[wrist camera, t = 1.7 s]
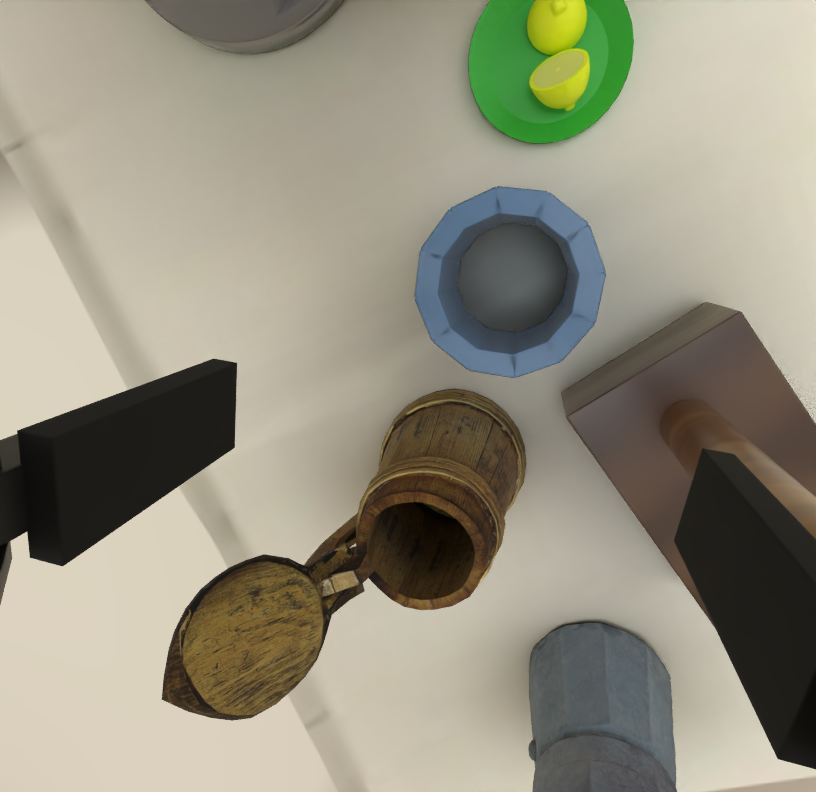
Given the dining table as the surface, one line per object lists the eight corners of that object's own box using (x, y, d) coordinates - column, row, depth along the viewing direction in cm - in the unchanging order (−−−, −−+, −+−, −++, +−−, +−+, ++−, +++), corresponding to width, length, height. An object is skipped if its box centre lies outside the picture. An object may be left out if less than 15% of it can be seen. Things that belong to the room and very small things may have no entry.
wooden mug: (304, 433, 36) (102, 594, 19) (499, 371, 32) (462, 504, 15) (353, 550, 38) (206, 796, 21) (544, 504, 34) (558, 761, 17)
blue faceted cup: (450, 194, 30) (428, 179, 24) (601, 211, 29) (622, 198, 22) (431, 338, 33) (406, 360, 26) (570, 360, 31) (581, 389, 25)
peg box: (560, 392, 32) (595, 560, 14) (706, 301, 29) (968, 374, 12) (691, 577, 33) (868, 937, 16) (844, 507, 30) (1270, 854, 13)
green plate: (657, 90, 27) (671, 72, 24) (509, 175, 29) (507, 167, 27) (591, -69, 26) (598, -106, 23) (443, 32, 28) (434, 10, 26)
